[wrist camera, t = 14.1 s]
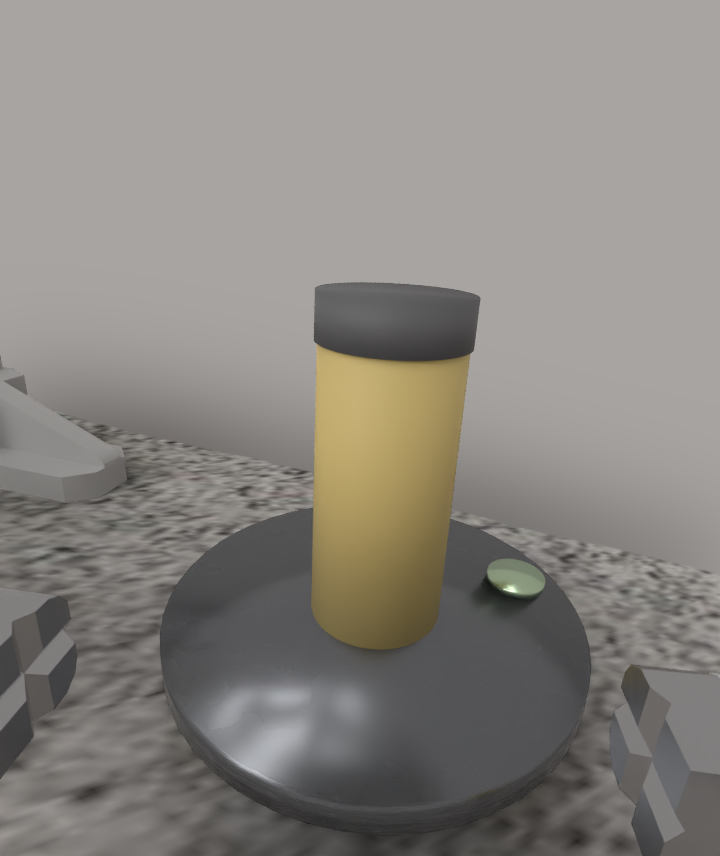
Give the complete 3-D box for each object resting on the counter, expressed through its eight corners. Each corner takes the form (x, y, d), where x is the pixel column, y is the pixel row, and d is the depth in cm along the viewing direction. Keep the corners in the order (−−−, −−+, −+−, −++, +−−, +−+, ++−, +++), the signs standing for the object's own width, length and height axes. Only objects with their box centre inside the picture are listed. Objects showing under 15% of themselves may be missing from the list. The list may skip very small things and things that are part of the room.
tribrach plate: (75, 854, 16) (53, 748, 15) (243, 554, 31) (241, 486, 30) (633, 947, 15) (672, 840, 13) (530, 585, 30) (543, 516, 28)
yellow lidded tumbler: (295, 641, 19) (298, 296, 15) (321, 558, 24) (329, 279, 20) (442, 660, 19) (488, 309, 15) (439, 571, 24) (473, 288, 20)
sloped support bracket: (84, 509, 36) (66, 391, 33) (-121, 465, 40) (-152, 357, 37) (140, 474, 41) (130, 370, 38) (-47, 438, 45) (-69, 342, 42)
